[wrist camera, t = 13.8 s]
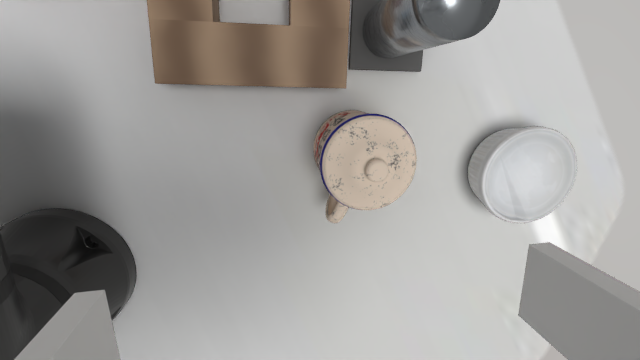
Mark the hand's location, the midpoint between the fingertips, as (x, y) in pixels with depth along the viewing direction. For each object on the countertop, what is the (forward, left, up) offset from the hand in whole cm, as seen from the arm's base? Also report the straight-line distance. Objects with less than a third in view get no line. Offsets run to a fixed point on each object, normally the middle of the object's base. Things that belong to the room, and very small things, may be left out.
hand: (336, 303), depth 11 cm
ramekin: (+26, -3, -30) cm, 40 cm away
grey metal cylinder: (+10, +12, -29) cm, 33 cm away
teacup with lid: (+6, -2, -30) cm, 30 cm away
